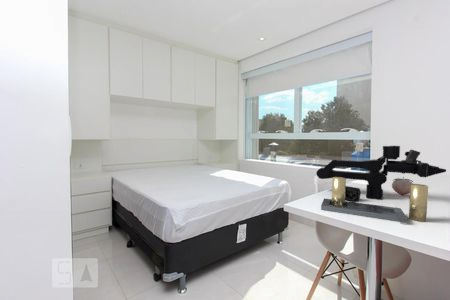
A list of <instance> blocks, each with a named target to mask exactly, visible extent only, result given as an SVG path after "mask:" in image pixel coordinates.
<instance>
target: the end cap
mask: <svg viewBox="0 0 450 300" xmlns="http://www.w3.org/2000/svg"><path fill="white" fill-rule="evenodd" d="M361 194H362V193H361V189H360V188H359V187H353V186H349V185H346V187H345V201H348V202H358V201H359V200H360V198H361V196H362V195H361Z"/></svg>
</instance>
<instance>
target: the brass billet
mask: <svg viewBox="0 0 450 300" xmlns="http://www.w3.org/2000/svg"><path fill="white" fill-rule="evenodd" d="M428 195H429V186H428V185H426V184H422V183H421V184H419V183H413V184H410V193H409V205H408V219H409V220H411V221H414V222H418V223H427V214H428V199H429V197H428Z"/></svg>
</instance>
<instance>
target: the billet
mask: <svg viewBox="0 0 450 300" xmlns="http://www.w3.org/2000/svg"><path fill="white" fill-rule="evenodd" d="M331 179H332V181H331V184H332V186H331V199H332V205H336V206H343V207H345V187H346V186H347V185H346V184H347V183H346V181H347V179H346V178H342V177H333V178H331Z"/></svg>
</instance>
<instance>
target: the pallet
mask: <svg viewBox="0 0 450 300" xmlns="http://www.w3.org/2000/svg"><path fill="white" fill-rule="evenodd" d="M322 200H323V201H322V202H321V205H320V206H321V207H320V210H321V211H324V212H325V211H326V212H332V213H338V214H344V215H350V216H355V217H356V216H357V217H364V218H370V219H377V220H384V221H389V222H398V223H400V224H401V225H408V216H407V215H406V214H405V212H404V210H403V209H402V208H400V207H393V206H385V205H379V204H378V205H377V204H369V203H362V202H357V201H355V202H350V201H345V207H343V206H336V205H332V198H323V199H322Z"/></svg>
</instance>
